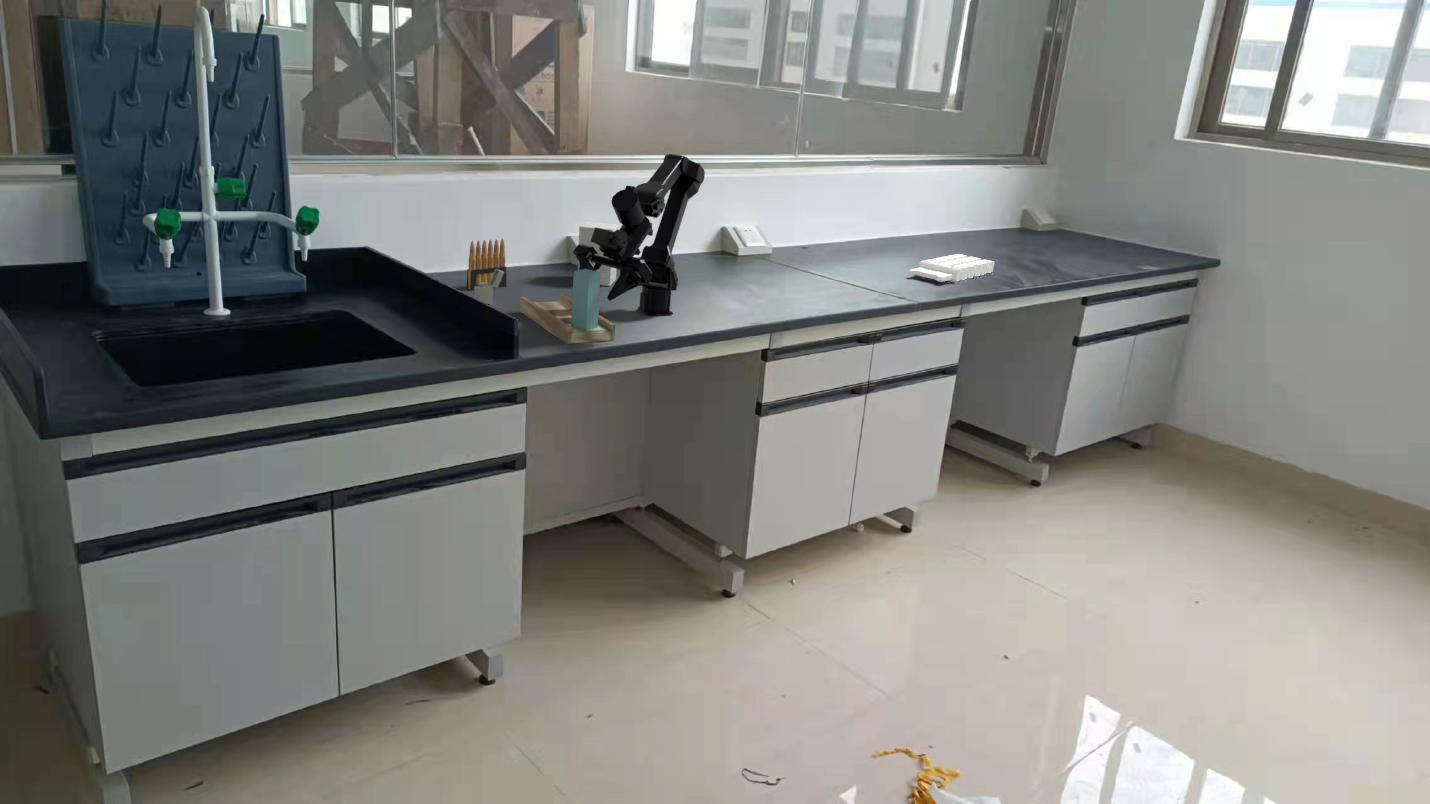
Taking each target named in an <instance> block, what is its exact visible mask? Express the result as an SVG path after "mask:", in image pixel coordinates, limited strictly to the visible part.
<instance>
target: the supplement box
mask: <svg viewBox="0 0 1430 804" xmlns="http://www.w3.org/2000/svg"><path fill="white" fill-rule="evenodd" d="M595 227H596V228H600V229H605V230H608V231H611V232H615V231H616V230H619V229H620V225H619V224H615V223H606V222H605V223H604V222H596V221H586V222H583V224H581V225H580V226H579V227H578V229H579V230H578V232H579V233H578V245H579V244H584V245H588V246H592V247H594V249H595V250H596V251H597V253H598V254H599V255H602V256H603V254H604V253H603V252H601V251H600V249H599V247H600V246H599V245H598V244H596V243H592V242H590V241H591V238H592V235H593V232H594V229H595ZM579 266H580V264H579V261H578V260H577V271H578V270H579ZM596 271H597V272H601V277H600V286H604V287H606V286H607V287H610V286H612V284H614V283H615V282H616V281H617V269H616V268H612V267H608V266H605V265H601V267H600V268H599V269H598V270H596Z"/></svg>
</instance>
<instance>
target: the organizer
mask: <svg viewBox="0 0 1430 804" xmlns="http://www.w3.org/2000/svg"><path fill="white" fill-rule="evenodd" d="M994 267H995V261H993V260H990V259H985V258H984V259H982V258H980V257H975V256H969V255H965V254H961V253H955V254H951V255H946V256H945V255H944V256H940V257H935V258H930V259H926V260H925V259H923V260H919V264H918V267H915V268H911V269H909V270H908V275H910V276H918V277H923V278H926V279H927V278H928V279H931V280H936V282H945V281H947V280H951V281H960V280H965V279H967V278H973V276H980V275H984V274H986V273H991V272H994Z"/></svg>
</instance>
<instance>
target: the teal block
mask: <svg viewBox="0 0 1430 804" xmlns="http://www.w3.org/2000/svg"><path fill="white" fill-rule="evenodd" d="M572 277H573V282H572V297H571V299H572V318H571V327H574V328H578V329H582V330H585V331H587V330H590V329H594V328H597V327H598V315H599V312H600V311H599V307H600V292H601V291H600V290H601V285H600V277H601V272H597V271H593V270H589V269H582V270H578V269H577V270H574V271H573V276H572Z"/></svg>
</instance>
